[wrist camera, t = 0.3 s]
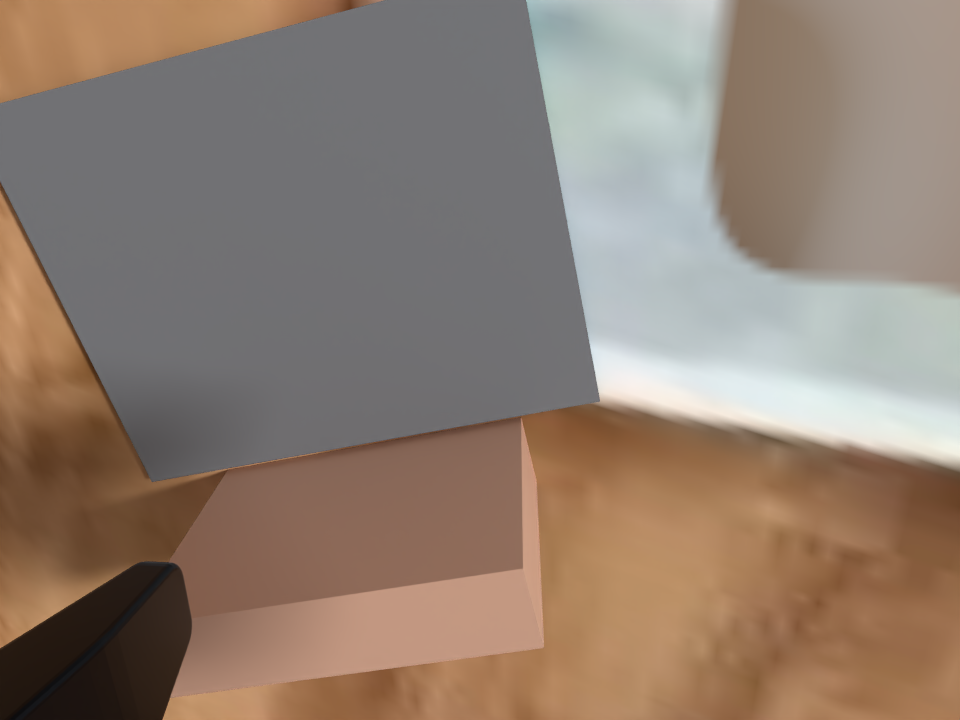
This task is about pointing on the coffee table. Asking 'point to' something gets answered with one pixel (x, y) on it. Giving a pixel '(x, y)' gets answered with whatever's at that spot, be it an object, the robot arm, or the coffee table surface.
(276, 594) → the block
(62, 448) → the coffee table surface
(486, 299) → the mat
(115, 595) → the robot arm
